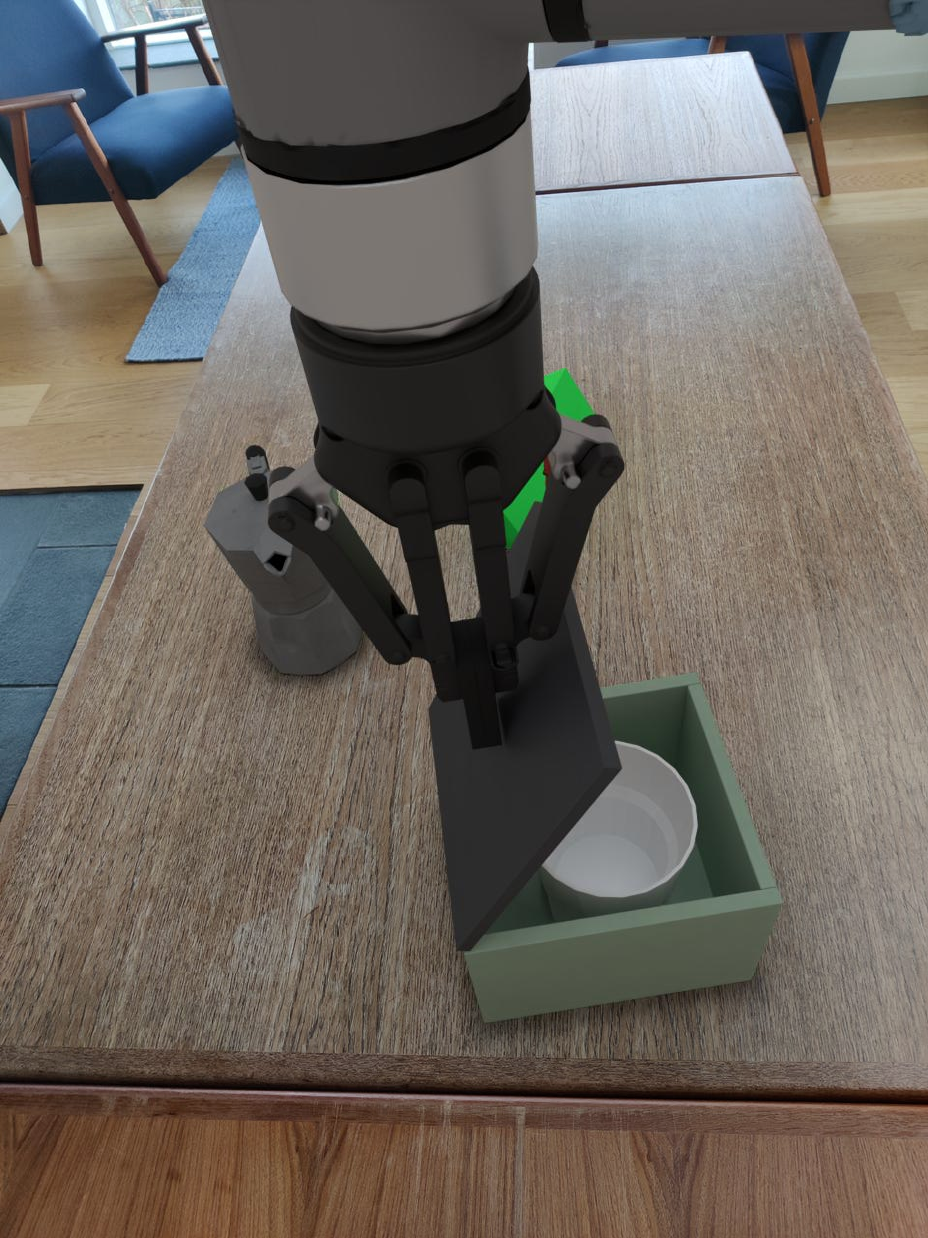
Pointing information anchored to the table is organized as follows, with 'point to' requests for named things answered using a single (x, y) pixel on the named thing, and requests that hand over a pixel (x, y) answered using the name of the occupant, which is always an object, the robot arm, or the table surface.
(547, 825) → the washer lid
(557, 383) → the bracket
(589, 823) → the cup
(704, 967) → the green box
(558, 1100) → the table surface
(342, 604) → the coffeepot
